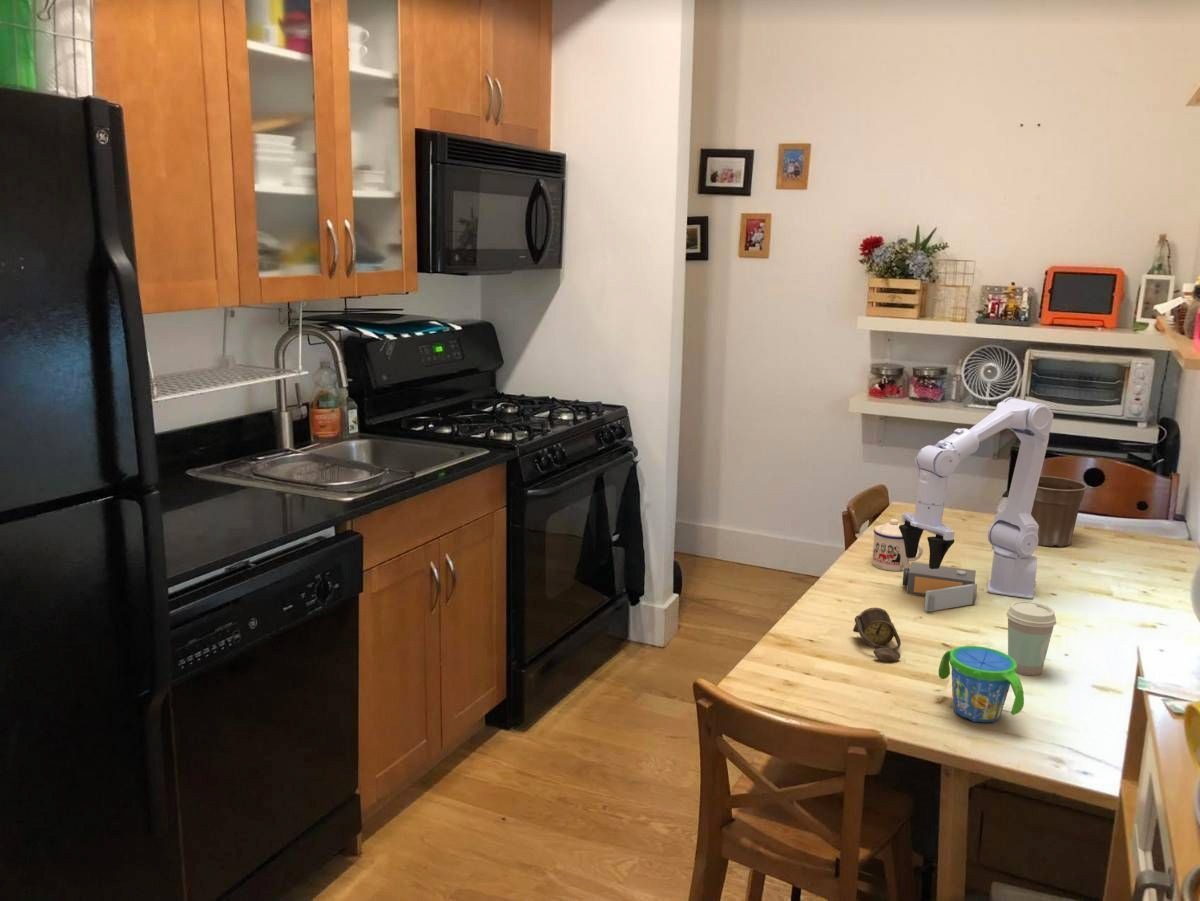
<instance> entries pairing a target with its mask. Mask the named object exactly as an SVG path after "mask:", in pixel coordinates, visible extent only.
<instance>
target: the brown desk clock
mask: <svg viewBox="0 0 1200 901" xmlns="http://www.w3.org/2000/svg"><path fill="white" fill-rule="evenodd" d="M854 622H855V624H854V626H853V629H852V631H853V632H854V633H858V634H859V636H860V638H861V639H862V641H863V642H864V643H865V644H866V645H869V646H870V647H872V648H874V650H873V654H874V656H875V657H876V658H877V659H878V660H879V661H882V662H889V663H890V662H895V661H899V660H900V659H901V654H900V653H899V652H898V650H899V649H900V647H901V645H902V644H901V638H900V636H899V635H898V631H897V630H896V627H895V624H893V622H892V619H891V617H890V615H889V613H888V611H886V610H885V609H883V608H880V607H871V608H867V609H864V610H863V611H861V613H860V614H858V615H856V616H855V617H854ZM893 639H895V641H896V644H897V646H895V647H887V646H885V645H887V644H889V643H890V642H891V641H892V640H893Z"/></svg>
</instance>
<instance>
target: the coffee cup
mask: <svg viewBox="0 0 1200 901" xmlns="http://www.w3.org/2000/svg"><path fill="white" fill-rule="evenodd" d="M1005 615H1006V617H1007V655H1009V656H1010V657H1011V658H1013V659H1014V660H1015V662H1016V663H1017V669H1016V674H1017V673H1018V674H1020V675H1025V676H1039V675H1040V674H1041V673H1042V671H1043V668H1044V664H1045V660H1046V657H1047V654H1048V649H1049V645H1050V642H1051V639H1052V638H1051V637H1052V633H1053V631H1054V626H1055V625H1057V618H1056V615H1055V611H1054V609H1053V608H1051V607H1049V606H1048V605H1045V604H1042V603H1039V602H1033V601H1023V600H1022V601H1021V600H1019V601H1015V602H1012V603H1011V604H1010V606H1009V608H1008V609H1007V612H1006V614H1005Z"/></svg>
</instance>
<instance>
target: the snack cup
mask: <svg viewBox="0 0 1200 901" xmlns="http://www.w3.org/2000/svg"><path fill="white" fill-rule="evenodd" d="M1016 669H1017V663H1016V662H1015V660H1014V659H1013V658H1011V657H1010V656H1009V655H1008V653H1007V654H1006V653H1005V652H1002V651H1000V650H998V649H994V648H991V647H985V646H980V645H963V646H958V647H956V648H953V649H950V650H947V651H946V652H945V653H944V654H943V655H942V657H941V660H940V663H939V666H938V676H939V678H940V679H941V680H947V678H949V677H950V674H951V687H952V688H951V689H952V690H951V692H952V706H953V711H954V712H955V713H956V714H958V715H959V716H961V717H962V718H965V719H968V720H969V721H972V722H973V723H976V722H980V723H995V722H996V721H997V720H999V718H1000V717H1001V715H1002V712H1003V709H1004V705H1005V703H1006V701H1007V696H1008V694H1009V690H1010V686H1011V689H1012V692H1013V695H1014V697H1015V698H1014V701H1013V704H1012V707H1011V711H1010V714H1011V715H1012V716H1014V715H1018V714H1019V713H1020V712H1021V711H1023V708H1024V705H1025V696H1024V688H1023V684H1022V682H1021V679H1020V677H1019V676H1018V674H1017V672H1016Z"/></svg>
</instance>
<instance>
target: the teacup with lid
mask: <svg viewBox="0 0 1200 901" xmlns="http://www.w3.org/2000/svg"><path fill="white" fill-rule="evenodd" d="M899 525H902V524H901V523H899V520H898V519H896V518H891V519H889V522H885V523H884V524H879V525H876V526H875V527H874V529H873V533H874V534H873V536H874V537H873V547H872V556H871V557H872V558H871V559H872V560H871V563H872V564H871V565H872V566H874V567H876V568H877V569H880V570H883V571H888V572H901V571H904V568H908V569H909V568H910V562H915V561H918V560H919V559H920V558H921V557H922V555H923V551H924V548H923V546H922V544H921V543H920V542H919V545H918V553H917V555H916V557H915V558H907V557H906V552H905V545H904V540H903V537H902V534H901V531H900V529H899Z"/></svg>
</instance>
